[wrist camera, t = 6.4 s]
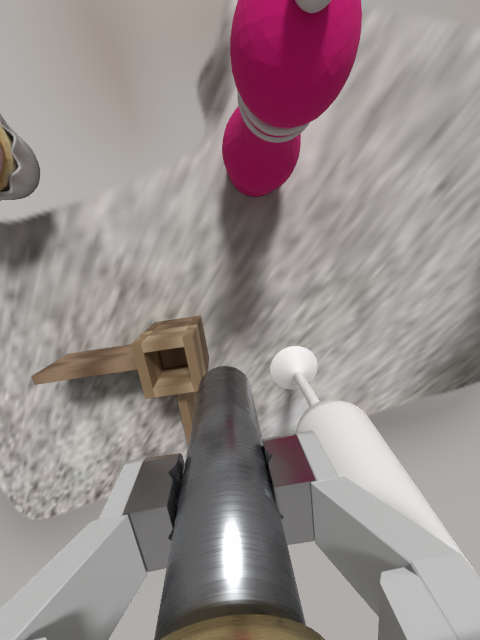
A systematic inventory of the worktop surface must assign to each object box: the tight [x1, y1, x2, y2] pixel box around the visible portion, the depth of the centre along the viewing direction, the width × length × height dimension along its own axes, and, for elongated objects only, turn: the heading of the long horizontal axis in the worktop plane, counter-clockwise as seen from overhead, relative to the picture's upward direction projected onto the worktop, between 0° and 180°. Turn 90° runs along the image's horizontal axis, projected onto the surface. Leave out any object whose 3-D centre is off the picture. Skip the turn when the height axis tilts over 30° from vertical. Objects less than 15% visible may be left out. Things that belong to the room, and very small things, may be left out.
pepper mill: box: [222, 0, 362, 197], centre depth 17 cm, size 7×7×20 cm
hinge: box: [31, 316, 209, 445], centre depth 29 cm, size 18×18×8 cm
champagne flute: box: [270, 346, 476, 572], centre depth 22 cm, size 7×7×24 cm
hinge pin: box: [154, 366, 325, 640], centre depth 7 cm, size 3×3×8 cm
